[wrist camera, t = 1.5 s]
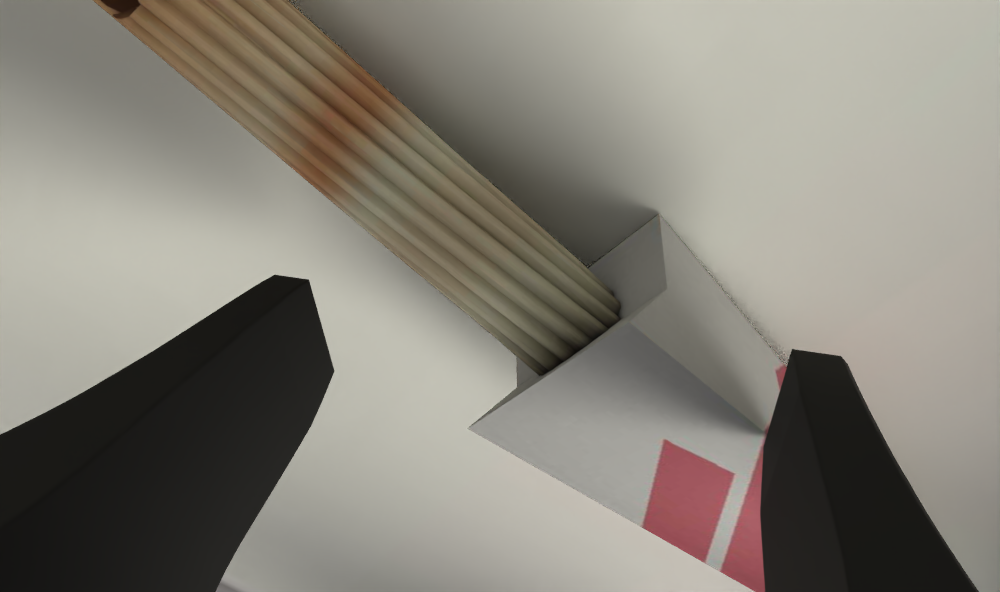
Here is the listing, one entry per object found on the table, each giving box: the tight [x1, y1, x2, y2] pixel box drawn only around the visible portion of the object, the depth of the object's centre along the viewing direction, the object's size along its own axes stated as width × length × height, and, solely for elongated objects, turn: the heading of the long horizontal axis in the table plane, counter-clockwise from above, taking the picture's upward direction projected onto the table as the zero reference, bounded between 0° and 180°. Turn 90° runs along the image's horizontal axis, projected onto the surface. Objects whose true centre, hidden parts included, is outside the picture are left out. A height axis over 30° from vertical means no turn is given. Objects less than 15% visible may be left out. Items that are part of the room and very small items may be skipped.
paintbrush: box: [93, 0, 787, 592], centre depth 12 cm, size 4×3×20 cm
